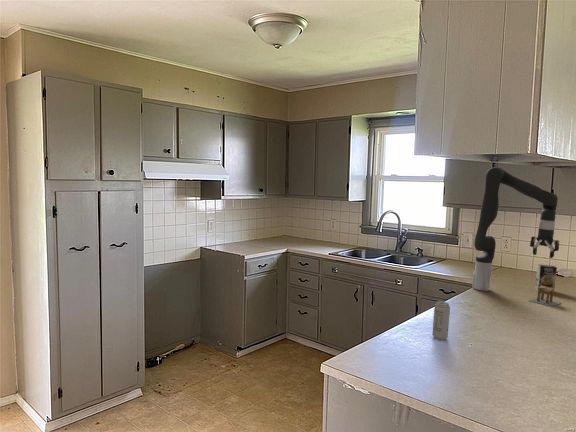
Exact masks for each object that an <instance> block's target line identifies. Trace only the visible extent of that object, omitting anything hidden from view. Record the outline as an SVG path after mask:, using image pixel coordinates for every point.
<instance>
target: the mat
mask: <svg viewBox="0 0 576 432" xmlns="http://www.w3.org/2000/svg"><path fill="white" fill-rule="evenodd" d="M528 302H530V303H535V304H539V305H543V306H547V307H551V308H552V307H556V306H559V305H562V302H558V301H555V300H552V302H550V299H549V303H548V304H547V303H546V299H545V298H544V300H541V297H540V301H537V297H536V298H532V299H528Z"/></svg>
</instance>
